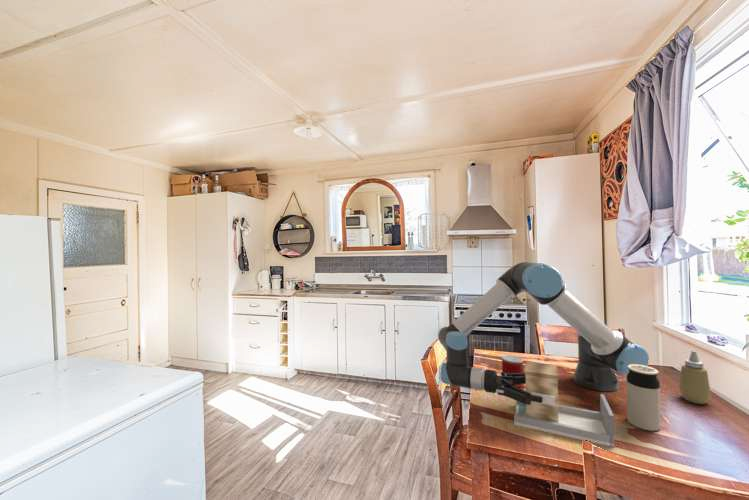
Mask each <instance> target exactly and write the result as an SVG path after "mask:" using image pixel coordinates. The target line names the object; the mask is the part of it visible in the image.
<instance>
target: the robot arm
mask: <svg viewBox="0 0 749 500" xmlns="http://www.w3.org/2000/svg"><path fill="white" fill-rule="evenodd" d="M524 292H525V293H527V294H529V295H530V297H532V299H534V301H536V302H537V303H538V304H539V305H542V306H548V307H549V308H550V309H552V311H553V312H555V314H556V315H558V316H559V317H560V318H561V319H563V321H564V322H566V323H567V324H568V325H569V326H570V327H571V328H573V330H574V331H576V333H577V348H578V349H577V351H578V362H577V364H576V367H575V370H574V373H573V381H574V382H575V383H576V384H578V385H580V386H582V387H584V388H587V389H590V390H595V391H599V392H600V391H601V392H615V391H618V390H619V389H620V388H619V385H620V384H619V379H618V377H617V374H616V372H618V373H619V374H621V375H624V376H627V374H628V373H629V368H628V367H627V366H628V365H630V364H638V365H645V366H649V363H650V362H649V359H650V357H649V353H648V351H647V350H646V349H645V348H644V347H643V346H641V345H639V344H638V343H633V342H632V341H631V340H629V339H628V338H627V337H626V336H625V335H624V334H623V333H621V331H619V330H617V329H611V328H609V327H608V325H607V324H606V323H604V322H603V321H602V320H600V318H599V317H597V316H596V315H595V314H594V313H593V312H592V311H590V309H588V308H587V307H586V306H585V305H584V304H583V303H582V302H581V301H579V299H577V297H575V296H574V295H573V294H572V293H571V292H569V291H568V290H567V284H566V282H565V281H564V280H563V277H562V274H561V273H560V272H559V270H558V269H556V268H555V267H553V266H552V265H549V264H547V263H542V262H541V263H540V262H538V263H537V262H536V263H535V262H528V261H527V262H526V261H524V262H519V263H516V264H515V265H513V266H511V267H510V268H509V269H507V270H506V271H505V272H504V273H503V274H501V275H500V276H499V277H498V278H497V279H496V282H495V284H494V285H493V286H492V287H491V288H490V289H489V290H488V291H486V292H485V293H484V294H483V295H482V296H481V297H480V298H479V299H477V300H476V301H475V302H474V303H473V304H471V306H469V308H467V309H466V310H465V311H464V312H463V313H461V315H459V316H458V317H457V318H456V319H454V321H453V322H452V323H450V324H449V325H448V326H443V327H442V328H440V329H439V331H438V333H437V338H438V340H439V343H440V344H441V346H442V347H443V348H444V350H445V352H446V362H443V363H442V364H441V367H440V373H439V375H440V380H441V382H442V383H443V384H444V385H445V384H446V385H450V386H452V387H459V388H466V389H470V390H475V391H476V392H477V391H485V392H486V393H492V394H496V393H497V395H498V396H502V397H507V398H509V399H512V400H514V401H519V402H521V403H524V404H529V405H530V404H531V401H532V402H537V403H542V404H547V405H553V406H555V396H551V395H546V394H540V393H534V392H531V394H530V393H528V392H526V390H524V389H522V388H518V387H516V386H515V385H518V384H523V385H526V375H525V372H523V373H504V372H500V375H499V374H498V373H497V371H496V370H494V369H488V368H486V369H485V368H481V367H475V366H468V345H469V343H468V335H469V334H471V333H472V332H473V331H474V330H475V329H476V328H477V327H479V325H481V323H482V322H484V321H485V320H486V319H487V318H488V317H489V316H491V315H492V314H493V313H494V312H496V311H497V310H498V309H500V307H501V306H503V304H505V303H506V302H507V301H508V300H509V299H510V298H515V297H517V295H519V294H520V293H524ZM615 371H616V372H615Z"/></svg>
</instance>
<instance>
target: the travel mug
mask: <svg viewBox="0 0 749 500" xmlns="http://www.w3.org/2000/svg"><path fill="white" fill-rule="evenodd" d="M627 367H628V368H629V373H628V374H627V375H626V417H627V418H626V419H627V422H628V423H629V424H631V425H632V426H635V427H636V428H639V429H641V430H645V431H650V432H651V431H655V432H656V431H660V430H661V390H660V389H661V381H660V380H659V379H658V374H659V370H657V369H656V368H654V367H651V366H649V365H648V366H645V365H638V364H630V365H628V366H627Z"/></svg>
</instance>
